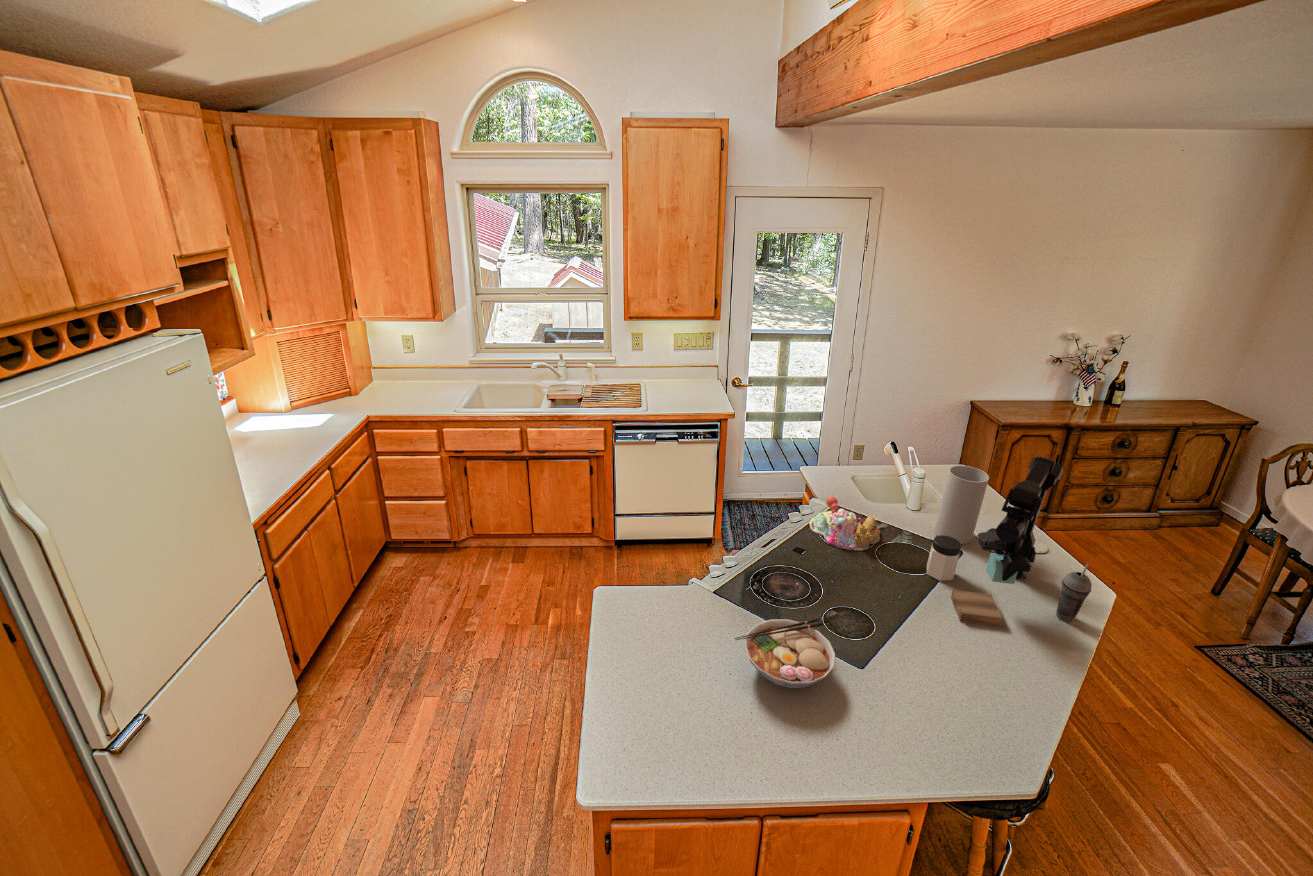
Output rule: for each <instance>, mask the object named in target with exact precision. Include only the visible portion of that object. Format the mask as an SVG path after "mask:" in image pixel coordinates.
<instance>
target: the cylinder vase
mask: <svg viewBox="0 0 1313 876" xmlns="http://www.w3.org/2000/svg"><path fill="white" fill-rule="evenodd" d="M947 473H948V474H947V477H946V481H945V484H944V489H943V493H942V495H941V501H940V506H939V508H938V513H937V517H936V521H935V525H934V529H933V530H934V533H935V535H936V536H940V535H944V536H949V537H952V538H954V539H956V540H958V541H959V542H960V543H961V545H967V544H969V543H971V541H972V540H973V537H974V534H975V530H976V527H977V522H978V519H979V516H980V512H981V509H982V505H983V501H984V497H985V494H986V490H987V487H988V484H989V479H990V476H989V475H988V474H987V472H985V471H983V470H982V469H980V468H976V467H974V466H969V465H959V464H958V465H953V466H951V467H949V469H948V472H947Z"/></svg>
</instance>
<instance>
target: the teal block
mask: <svg viewBox="0 0 1313 876" xmlns="http://www.w3.org/2000/svg"><path fill="white" fill-rule="evenodd" d="M1004 556H1006V554H998V553H994V552H990V554H989V556H988V557H989V558H988V560H987V564H986V567H985V572H986V573H987V574H988V576H989V578H990V580H991V582H994V583H1000V584H1001V583H1002V584H1011V585H1014V584H1015V581H1016V579H1017V578H1016V576H1017V573H1018V572H1016V573H1015V574H1014V575H1013V576H1011V577H1010V578H1009V579H1008V580H1006V581H1005V580H1002V574H1003V567H1004V566H1003V564H1002V563H1001V561H1000V560H1003V558H1004Z"/></svg>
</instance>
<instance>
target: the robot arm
mask: <svg viewBox="0 0 1313 876" xmlns="http://www.w3.org/2000/svg"><path fill="white" fill-rule="evenodd" d="M1027 471H1028V474H1027V476H1026V478H1025V479H1024V480H1022V481H1018V482H1016V484H1015V485H1014V486H1013V487H1011V488H1010V489H1009V492H1008V494H1007V497H1006V498H1005V501H1004V504H1003V506H1002V508H1001V512H1005V513H1006V516H1004V518H1003V519H1002V520H1001V522H1000V523H999V524H998V525H997V526H996V528H990V529H987V531H984V532H979V533H977V539H978V545H979V546H980V547H981V550H982V551H989V552H992V551H994V552H993V553H998V554H1006V556H1004V558H1003V560H1000V561H1001V563H1002V564H1003V566H1004V567H1003V574H1002V580H1005V581H1006V580H1008V579H1009V578H1010V577H1011V576H1013V575H1014V574H1015V573H1016V572H1018V573H1017V576H1016V579H1017V578H1018V579H1023V580H1024V579H1026V578H1027V576H1026V574H1025V573H1030V572H1031V569H1032V565H1031V564H1033V563H1035V559H1036V555H1037V552H1036V547H1035V544H1036V538H1035V535H1034V532H1033V531H1034V529H1035V526H1036V523H1037V520H1038V518H1039V515H1040V512H1041V509H1042V506H1043V503H1044V500H1045V497H1046V495H1047V492H1048V490H1049V489H1051V487H1054V486H1055V484H1056V483H1057V481H1059V480H1060V479H1061V477H1062V474H1063V472H1064V467H1063V466H1062V465H1060V464H1059V463H1057V462H1056V461H1055V460H1054V459H1051V458H1047V457H1043V456H1040V455H1039V456H1036V457H1032V458H1031V460H1030V462H1029V465H1028V468H1027Z"/></svg>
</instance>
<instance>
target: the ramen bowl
mask: <svg viewBox="0 0 1313 876" xmlns="http://www.w3.org/2000/svg"><path fill="white" fill-rule="evenodd" d="M823 626H824V624H823V622H820V618H817V617H816V618H815V619H809V620H806V621H801V622H800V621H795V620H792V619H787V618H783V619H781V618H780V619H779V618H778V619H768V620H766V621H762V622H760V623H757V624H755V625H754V627H752V628H751V629H750V630H749V631H748V632H747V634H745V635H742V636H738V637H734V640H735V641H738V640H744V646H745V647H744V648H745V651H746V654H747V658H748V660H749V662H750V663H751V664H752V665H753V667H754V668H755V669H756V670H757V671H758V673H759V674H760V675H761V676H762V677H764V678H766V679H767V680H768V681H770V682H772V683H774V684H775V685H778V686H782V687H786V688H790V689H793V688H798V689H799V688H806V687H809V686H811V685H814V684H816V683H818V682H820V681H822V680H823V679H825V677H827V676H828V674H829V673H830V672H831V671H832V670H833V668H834V667H835V663H836V662H835V661H836V653H835V650H834V648H833V646H832V643H831V642H830V640H829V639H828V638H826V637H825V636H824V635H823V634H822V633H821V632H820V631H819V630H818V629H815V628H817V627H823Z"/></svg>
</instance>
